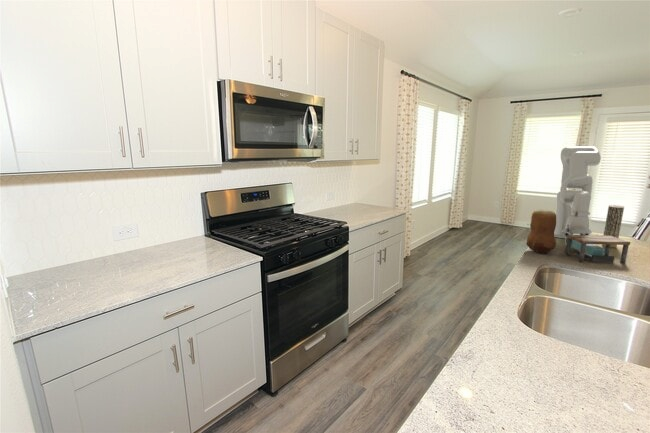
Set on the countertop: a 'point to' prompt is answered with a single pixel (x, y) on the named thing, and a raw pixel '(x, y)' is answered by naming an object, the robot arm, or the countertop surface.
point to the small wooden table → (597, 240)
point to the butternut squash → (542, 231)
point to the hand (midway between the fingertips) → (574, 244)
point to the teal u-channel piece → (588, 248)
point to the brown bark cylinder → (613, 222)
